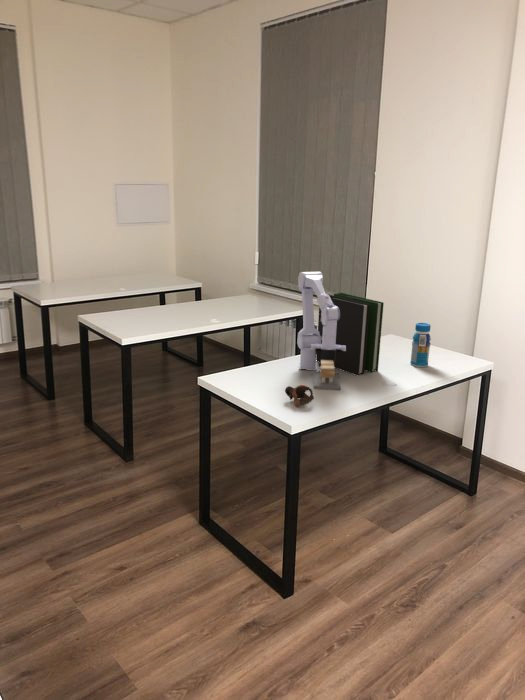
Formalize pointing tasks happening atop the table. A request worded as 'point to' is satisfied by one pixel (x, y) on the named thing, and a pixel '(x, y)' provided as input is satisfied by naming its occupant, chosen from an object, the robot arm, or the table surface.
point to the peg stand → (326, 382)
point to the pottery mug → (299, 394)
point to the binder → (356, 333)
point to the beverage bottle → (421, 345)
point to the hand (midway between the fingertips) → (327, 366)
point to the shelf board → (327, 368)
